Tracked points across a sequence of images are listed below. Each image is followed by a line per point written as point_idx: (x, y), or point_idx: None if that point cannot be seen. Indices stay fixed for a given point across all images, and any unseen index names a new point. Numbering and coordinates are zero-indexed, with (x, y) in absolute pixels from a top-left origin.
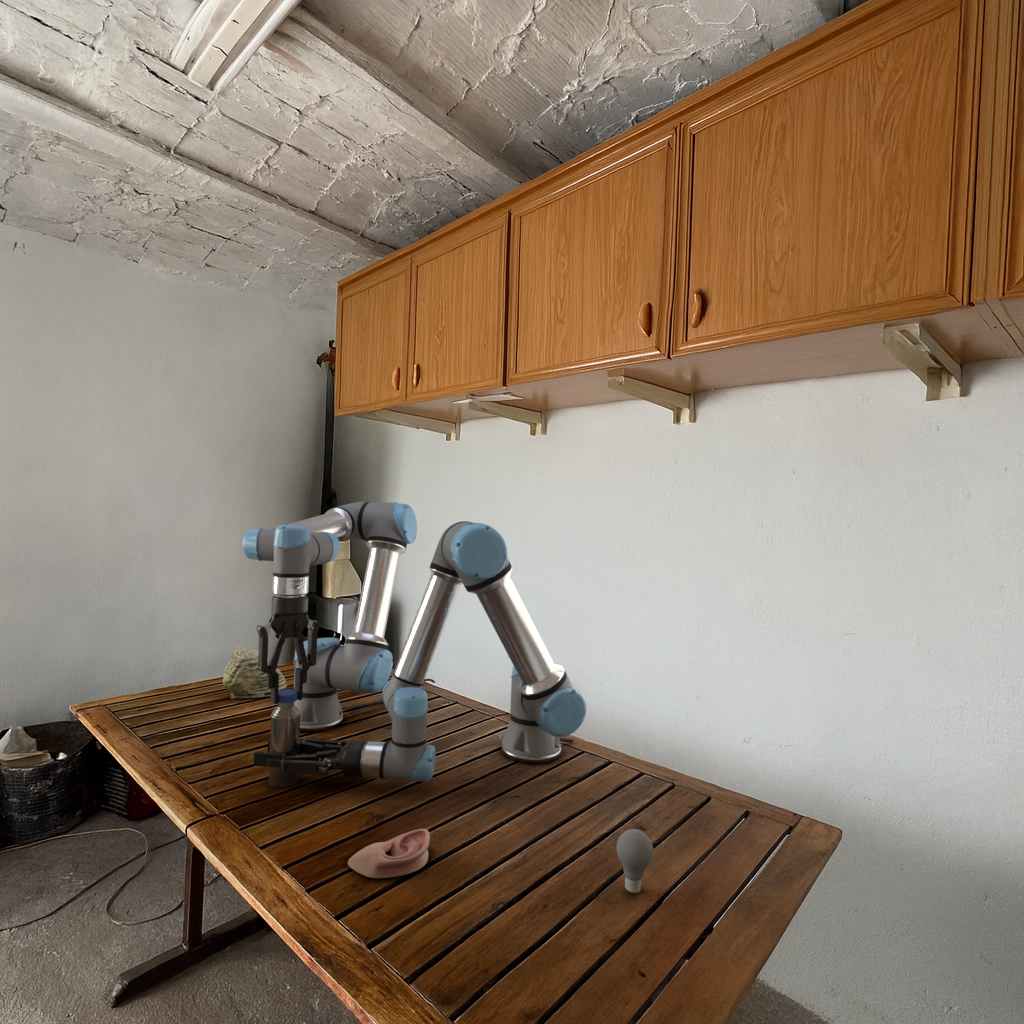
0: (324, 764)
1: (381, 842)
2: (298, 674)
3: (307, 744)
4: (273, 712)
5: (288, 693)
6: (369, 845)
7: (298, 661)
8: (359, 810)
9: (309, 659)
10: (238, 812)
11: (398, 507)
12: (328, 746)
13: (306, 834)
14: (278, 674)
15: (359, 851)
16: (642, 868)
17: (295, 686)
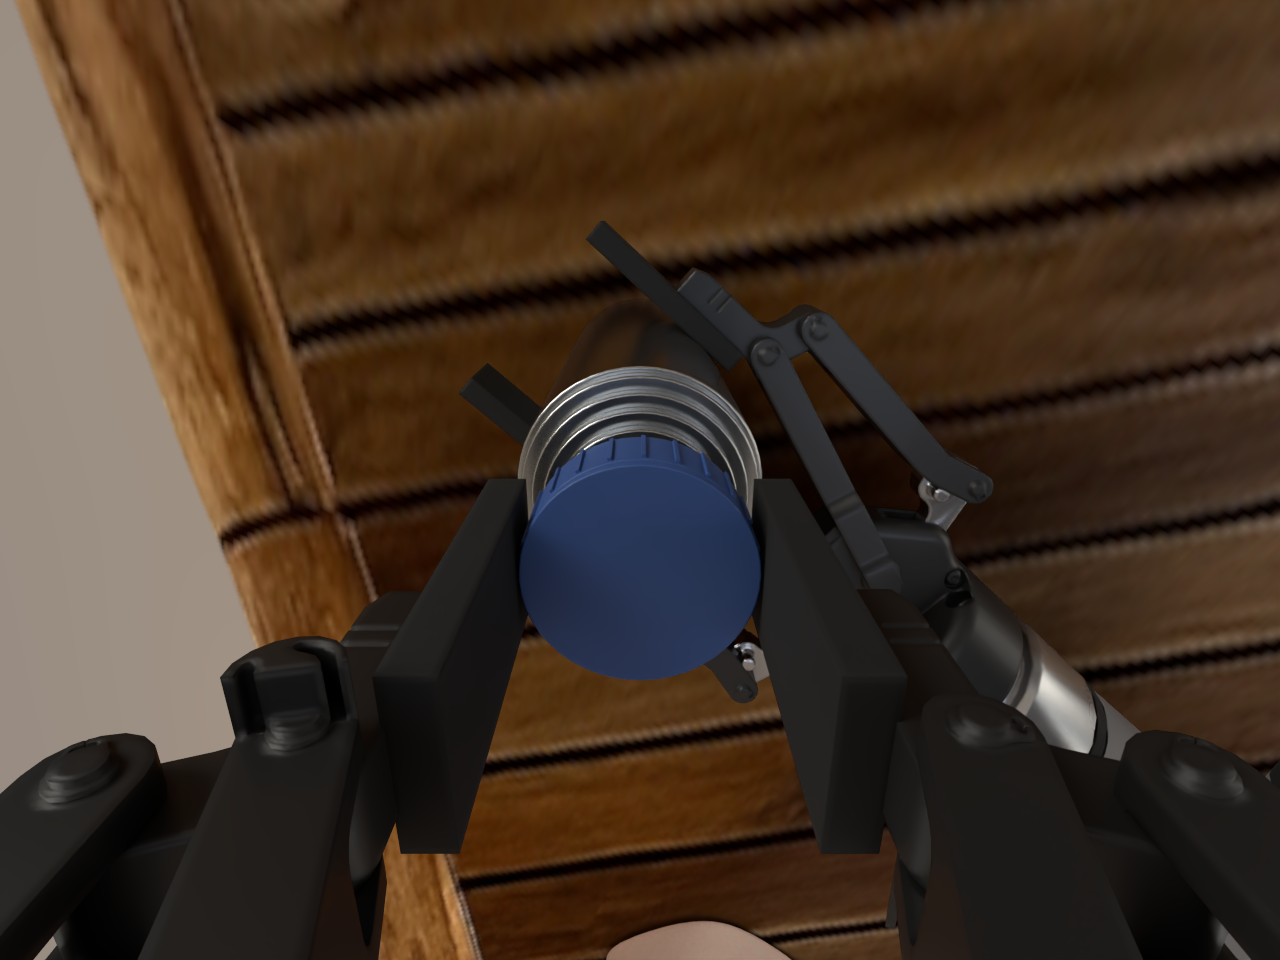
0: (734, 699)
1: (722, 949)
2: (809, 745)
3: (780, 418)
4: (534, 474)
5: (643, 623)
6: (687, 944)
7: (932, 807)
8: (783, 741)
9: (1181, 878)
10: (402, 540)
11: None
12: (851, 546)
13: (570, 781)
14: (452, 849)
15: (650, 952)
16: None
17: (774, 547)
